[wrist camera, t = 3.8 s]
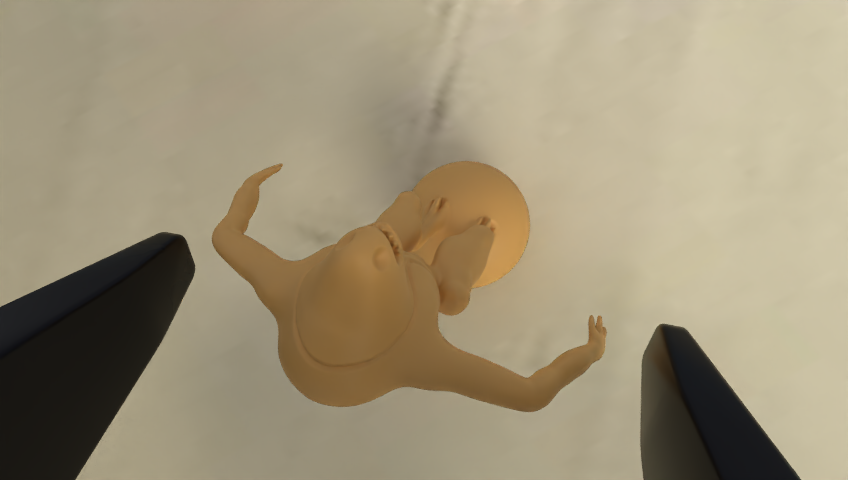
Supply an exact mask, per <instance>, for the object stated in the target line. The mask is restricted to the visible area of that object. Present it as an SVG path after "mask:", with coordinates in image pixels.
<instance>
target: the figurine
mask: <svg viewBox="0 0 848 480" xmlns="http://www.w3.org/2000/svg"><path fill="white" fill-rule="evenodd" d="M282 166H283V164H278V165H274V166H272V167H269V168H266V169H264V170H262V171H260V172H258V173H255V174H254V175H252V176H250V177H249V178H248V179H246V180H245V182H244V183H243V185H242V186H241V187H240V188H239V189H238V191H237V192H236V194H235V196H234V198H233V201H232V204H231V207H230V209H229V211H228V214H227V215H226V216H225V217H224V219H223V220H222V221H221V222H220V223H219V224H218V225H217V226H216V228H215V230H214V232H213V235H212V243H213V246H214V248H215V250H216V251H217V252H218V254H219V255H220V256H221V257H222V258H223V259H224V260H225V261H226V262H227V263H228V264H229V265H230V266H231V267H232V268H233V269H234V270H235V271H236V272H237V273H238V274H239V275H241V276H242V277H243V278H244V279H245V280H247V281H248V282H249V283H250V284H251V285H252V286H253V288H254V290H255V292H256V294H257V295H258V297H259V299H260V300H261V301H262V303H263V304H264V305H265V306H266V307H267V308H268V309H269V310H270V311H271V313H272V314H273V315H274V317H275V318H276V321H277V324H278V332H279V335H278V353H279V359H280V362H281V365H282V368H283V370H284V372H285V374H286V375H287V377H288V378H289V380H290V381H291V383H292V384H293V385H294V386H295V387H296V388H297V389H298V390H299V391H300V392H301V393H302V394H303V395H305V396H306V397H307V398H309V399H311V400H313V401H315V402H317V403H320V404H324V405H328V406H336V407H348V406H356V405H360V404H363V403H367V402H369V401H372V400H374V399H376V398H378V397H380V396H382V395H384V394H386V393H388V392H390V391H392V390H394V389H397V388H401V387H414V388H419V389H424V390H434V391H450V392H455V393H459V394H461V395H464V396H467V397H470V398H473V399H476V400H480V401H483V402H487V403H490V404H494V405H498V406H501V407H505V408H509V409H513V410H518V411H524V412H534V411H538V410H540V409H542V408H544V407H545V406H547V405H548V404H549V403H550V402H551V400H552V399H553V398H554V397H555V395H556V394H557V393H558V392H559V391H560V390H561V389H562V388H563V387H565V386H566V385H568V384H569V383H570V382H572V381H573V380H574V379H576V378H577V377H579V376H580V375H582V374H583V373H584V372H585V371H586V370H587V369H588V368H589V367H590V365H591V364H592V363H594V362H595V361H598V360H599V359H600V358H601V357H602V355H603V353H604V351H605V338H606V334H607V332H606V328H605V327H602V317H601V316H598V319H597V323H596V326H595V323H594V318H593V316H592V315H591V316H590V317H589V341H588V343H587V344H586V345H583V346H579V347H577V348H574V349H571V350H568V351H566V352H565V353H563V354H561V355H560V356H559V357H557V358H556V359H555V360H554V361H553V362H552V363H551V364H550V365H548V366H546V367H544V368H542V369H540V370H538V371H536V372H535V373H534V374H533V375H532V376H530V377H529V378H525V377H522V376H520V375H518V374H516V373H514V372H512V371H510V370H508V369H506V368H504V367H502V366H499V365H497V364H495V363H493V362H490V361H488V360H486V359H483V358H481V357H478V356H476V355H473V354H470V353H467V352H465V351H462V350H460V349H458V348H456V347H454V346H453V345H451V344H450V343H449V342H448V341H447V340H446V339H445V338H444V337H443V336H442V334H441V333H440V331H439V327H438V312H441V313H443V314H445V315H451V316H452V315H457V314H459V313H461V312H462V311H463V310H464V309H465V308H466V307H467V305H468V303H469V300H470V291H471V289H472V288H477V287H481V286H485V285H488V284H491V283H493V282H495V281H497V280H498V279H500V278H502V277H503V276H504V275H506V274H507V273H508V272H509V271H510V270H511V269H512V268H513V267H514V266H515V265H516V264H517V262H518V261H519V259H520V258H521V256H522V254H523V252H524V250H525V248H526V245H527V242H528V237H529V231H530V218H529V212H528V208H527V205H526V202H525V199H524V197H523V195H522V193H521V192H520V190H519V189H518V187H517V186H516V185H515V183H514V182H513V181H512V180H511V179H510V178H509V177H508V176H506V175H505V174H504V173H502V172H501V171H499V170H498V169H496V168H494V167H491V166H489V165H486V164H483V163H479V162H472V161H461V162H454V163H449V164H446V165H443V166H441V167H439V168H437V169H435V170H433V171H431V172H430V173H429V174H427V175H426V176H425V177H424V178H422V179H421V180H420V181H419V183H418V184H417V185H416V186H415V187H414V189H413V190H412V192H411V191H405V192H402V193H400V194H399V196H398V197H397V199H396V200H395V202H394V203H393V204H392V205H391V206H390V207H389V208H388V209H387V210H386V211H384V212H383V213H382V214H381V215H380V217H379V218H378V219H377V221H376V222H375V223H372V224H370V225H367V226H365V227H359V228H357V229H354V230H352V231H350V232H349V233H347V234H346V235H345V236H343V237H342V238H341V239H340V240H339V241H338V242H337V244H333V245H330V246H328V247H325V248H323V249H321V250H320V251H318V252H316V253H315V254H313V255H311V256H309V257H307V258H305V259H303V260H300V261H288V260H284V259H282V258H281V257H279V256H278V255H276V254H275V253H274V252H272V251H271V250H269V249H268V248H266V247H265V246H263V245H262V244H260V243H258V242H257V241H255V240H253V239H252V238H250V237H248V236H246V235H244V234H243V233H244V232H245V231H246V229H247V227H248V223H249V220H250V218H251V217H252V215H253V213H254V212H255V209H256V207H257V204H258V201H259V186H260V184H261V183H262V182H263V181H265V180H266V179H267V178H268V177H270V176H271V175H273V174H275V173H276V172H278V171H279V170H280V169H281V167H282Z"/></svg>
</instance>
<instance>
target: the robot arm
mask: <svg viewBox="0 0 848 480" xmlns="http://www.w3.org/2000/svg"><path fill="white" fill-rule="evenodd" d="M194 273H195V264H194V261H193V258H192V255H191V252H190V249H189V247H188V244H187V241H186V239H185V238H184V237H183V236H182V235H179V234H174V233H168V232H161V233H158V234H156V235H154V236H152V237H150V238H147V239H145V240H143V241H141V242H139V243H137V244H135V245H132V246H130V247H128V248H126V249H124V250H122V251H120V252H117V253H115V254H113V255H111V256H109V257H107V258H104V259H102V260H100V261H98V262H96V263H94V264H92V265H89V266H87V267H85V268H83V269H81V270H79V271H77V272H74V273H72V274H70V275H68V276H66V277H64V278H62V279H59V280H57V281H55V282H53V283H51V284H49V285H46V286H44V287H42V288H40V289H38V290H36V291H34V292H31V293H29V294H27V295H25V296H23V297H21V298H19V299H16V300H14V301H12V302H10V303H8V304H6V305H4V306H1V307H0V480H76V478H77V476H78V475H79V473H80V472H81V470H82V468H83V467H84V465H85V464H86V462H87V460H88V459H89V457H90V456H91V454H92V452H93V451H94V449H95V448H96V446H97V444H98V443H99V441H100V440H101V438H102V436H103V435H104V433H105V432H106V430H107V428H108V427H109V425H110V424H111V422H112V420H113V419H114V417H115V416H116V414H117V412H118V411H119V409H120V408H121V406H122V404H123V403H124V401H125V400H126V398H127V396H128V395H129V393H130V392H131V390H132V388H133V387H134V385H135V384H136V382H137V380H138V379H139V377H140V376H141V374H142V372H143V371H144V369H145V368H146V366H147V364H148V363H149V361H150V360H151V358H152V356H153V355H154V353H155V352H156V350H157V348H158V347H159V345H160V343H161V342H162V340H163V338H164V336H165V334H166V332H167V330H168V328H169V326H170V324H171V322H172V320H173V318H174V316H175V314H176V312H177V310H178V308H179V306H180V304H181V301H182V299H183V297H184V295H185V293H186V291H187V289H188V287H189V285H190V283H191V281H192V279H193V276H194ZM640 446H641V459H642V469H643V478H644V480H801V479H800V477H799V476H798V475H797V473H796V472H795V471H794V470H793V468H792V467H791V466H790V464H789V463H788V462H787V460H786V459H785V458H784V456H783V455H782V454H781V452H780V451H779V450H778V449H777V447H776V446H775V445H774V443H773V442H772V441H771V439H770V438H769V437H768V435H767V434H766V433H765V431H764V430H763V429H762V428H761V426H760V425H759V424H758V422H757V421H756V420H755V418H754V417H753V416H752V414H751V413H750V412H749V410H748V409H747V408H746V406H745V405H744V404H743V403H742V401H741V400H740V399H739V397H738V396H737V395H736V393H735V392H734V391H733V389H732V388H731V387H730V385H729V384H728V383H727V382H726V380H725V379H724V378H723V376H722V375H721V374H720V372H719V371H718V370H717V368H716V367H715V366H714V364H713V363H712V362H711V361H710V359H709V358H708V357H707V355H706V354H705V353H704V351H703V350H702V349H701V347H700V346H699V345H698V343H697V342H696V341H695V340H694V338H693V337H692V336H691V334H690V333H689V332H688V331H687V330H686V329H685V328H683V327H679V326H673V325H668V324H660V325H659V326H658V327H657V328H656V330H655V332H654V334H653V336H652V338H651V340H650V342H649V344H648V346H647V348H646V350H645V352H644V355H643V359H642V377H641V430H640Z"/></svg>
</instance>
